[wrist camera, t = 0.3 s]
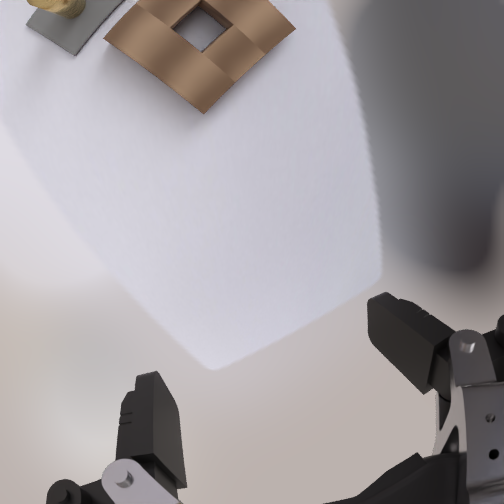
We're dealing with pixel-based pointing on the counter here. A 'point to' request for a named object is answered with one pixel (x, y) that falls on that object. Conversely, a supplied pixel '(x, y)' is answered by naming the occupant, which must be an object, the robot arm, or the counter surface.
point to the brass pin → (61, 7)
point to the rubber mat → (72, 24)
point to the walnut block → (191, 59)
